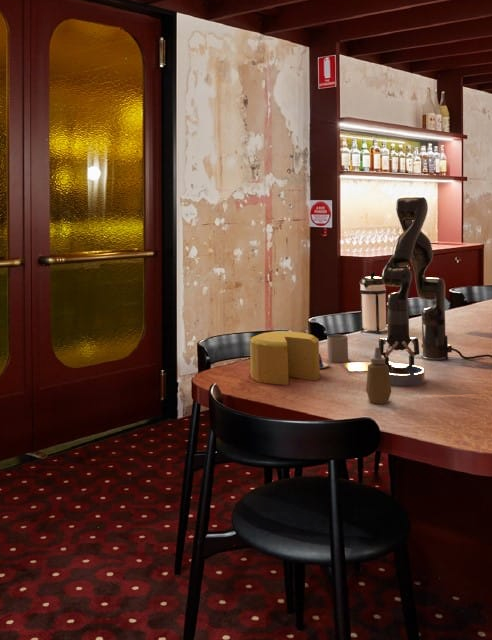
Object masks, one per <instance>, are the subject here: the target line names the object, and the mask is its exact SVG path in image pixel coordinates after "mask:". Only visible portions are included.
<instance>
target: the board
mask: <svg viewBox="0 0 492 640" xmlns="http://www.w3.org/2000/svg"><path fill="white" fill-rule="evenodd" d="M369 364H371V361H367V362H366V361H365V362H344V363H342V367H343V368H344V369H345V370H347V371H348V372H349V373H367V371H368V365H369ZM389 364H395V363H394V362H393V361H389Z"/></svg>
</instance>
